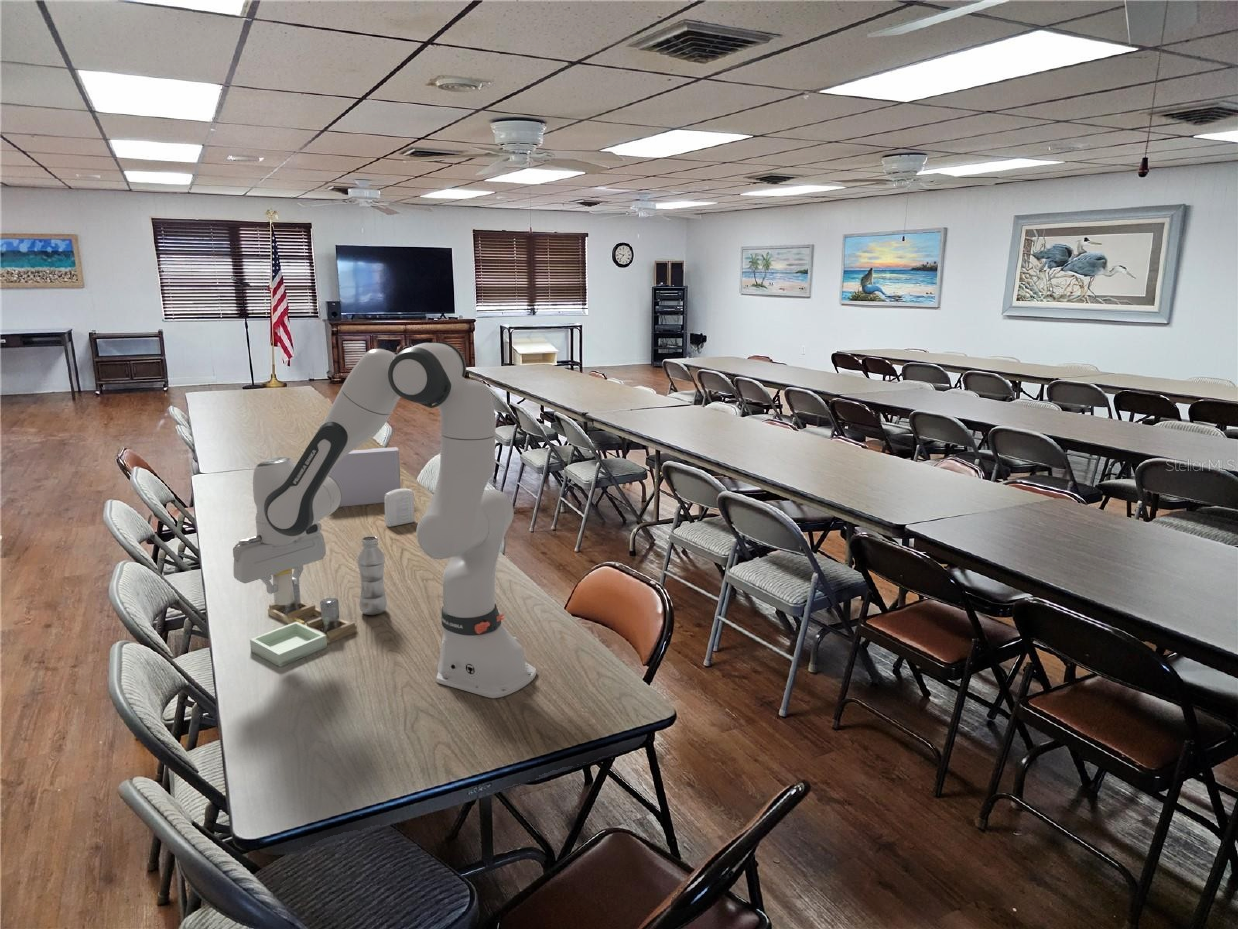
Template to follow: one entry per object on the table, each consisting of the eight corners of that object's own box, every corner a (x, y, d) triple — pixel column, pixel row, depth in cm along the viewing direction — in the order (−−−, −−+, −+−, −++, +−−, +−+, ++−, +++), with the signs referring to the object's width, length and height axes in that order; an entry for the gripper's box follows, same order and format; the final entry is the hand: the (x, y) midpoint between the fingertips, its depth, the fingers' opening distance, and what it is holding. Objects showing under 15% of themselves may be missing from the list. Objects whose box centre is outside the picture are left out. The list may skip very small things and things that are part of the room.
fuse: (297, 600, 171) (295, 567, 169) (281, 606, 168) (278, 573, 166) (287, 596, 173) (284, 563, 171) (270, 601, 170) (267, 568, 168)
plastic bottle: (359, 609, 195) (354, 535, 190) (386, 605, 197) (382, 533, 192) (360, 619, 189) (355, 544, 184) (388, 616, 191) (384, 541, 186)
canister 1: (304, 613, 191) (302, 584, 189) (290, 619, 188) (287, 589, 186) (295, 609, 193) (293, 580, 192) (281, 614, 190) (278, 585, 188)
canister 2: (343, 631, 182) (341, 600, 180) (329, 637, 179) (326, 606, 177) (333, 626, 185) (331, 596, 183) (319, 632, 181) (316, 601, 179)
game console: (323, 504, 280) (319, 451, 275) (398, 497, 291) (396, 446, 286) (324, 508, 275) (320, 455, 270) (401, 501, 286) (399, 450, 281)
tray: (326, 647, 175) (326, 635, 174) (280, 667, 165) (278, 654, 165) (297, 633, 181) (296, 621, 180) (250, 651, 172) (249, 639, 171)
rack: (356, 631, 182) (356, 622, 182) (328, 643, 176) (327, 633, 176) (296, 604, 196) (295, 595, 196) (268, 614, 190) (267, 605, 189)
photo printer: (410, 519, 266) (409, 485, 263) (416, 522, 263) (415, 488, 260) (383, 525, 259) (381, 490, 256) (389, 528, 256) (387, 493, 253)
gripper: (240, 546, 156) (246, 607, 159) (327, 522, 172) (331, 578, 176) (224, 539, 160) (230, 599, 163) (311, 516, 176) (315, 571, 179)
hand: (283, 588), depth 170 cm, fingers closed on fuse, 4 cm apart
